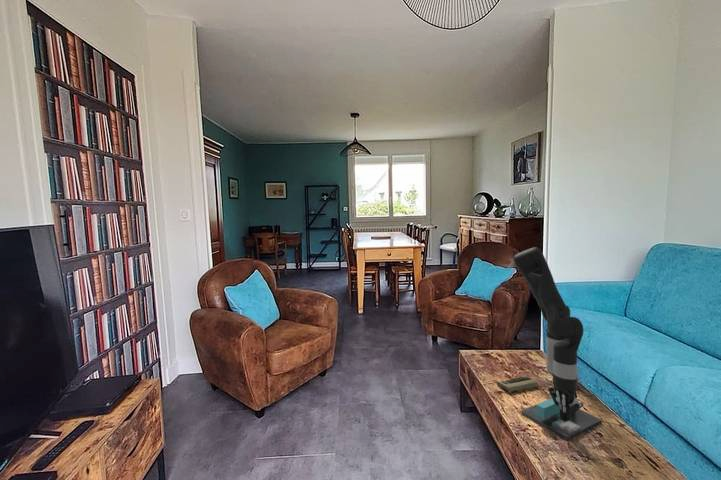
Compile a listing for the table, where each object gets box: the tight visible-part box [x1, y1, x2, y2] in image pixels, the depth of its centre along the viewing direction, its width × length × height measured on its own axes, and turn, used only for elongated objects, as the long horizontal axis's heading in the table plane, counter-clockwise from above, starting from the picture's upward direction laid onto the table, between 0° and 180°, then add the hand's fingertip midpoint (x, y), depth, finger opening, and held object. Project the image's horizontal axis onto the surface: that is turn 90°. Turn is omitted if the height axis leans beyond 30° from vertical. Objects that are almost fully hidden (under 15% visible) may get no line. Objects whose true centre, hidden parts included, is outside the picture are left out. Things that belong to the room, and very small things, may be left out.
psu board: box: [520, 404, 603, 442], centre depth 126 cm, size 20×18×3 cm
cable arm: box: [535, 392, 578, 419], centre depth 127 cm, size 20×4×4 cm, turn 116°
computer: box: [496, 375, 539, 394], centre depth 151 cm, size 16×8×3 cm, turn 106°
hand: (564, 420), depth 119 cm, fingers closed
